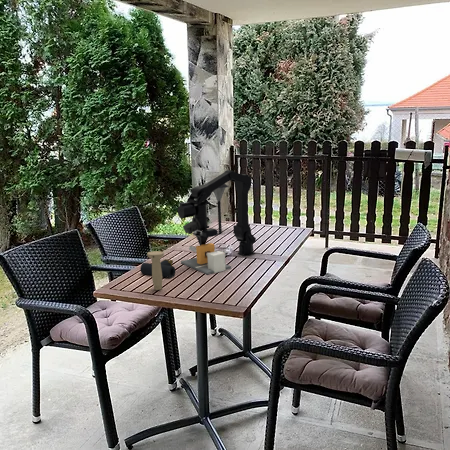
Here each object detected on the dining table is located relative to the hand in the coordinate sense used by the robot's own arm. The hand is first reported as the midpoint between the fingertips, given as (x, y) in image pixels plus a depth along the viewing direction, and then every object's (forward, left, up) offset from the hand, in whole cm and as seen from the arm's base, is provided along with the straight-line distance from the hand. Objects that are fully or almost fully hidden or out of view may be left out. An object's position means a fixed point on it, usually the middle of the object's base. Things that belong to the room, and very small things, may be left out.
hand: (202, 248), depth 205 cm
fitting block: (0, +11, -8) cm, 14 cm away
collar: (0, +3, -6) cm, 7 cm away
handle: (+31, +14, -8) cm, 35 cm away
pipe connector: (+20, -3, -8) cm, 22 cm away
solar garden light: (-41, -43, -8) cm, 60 cm away
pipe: (0, +1, -3) cm, 3 cm away
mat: (0, +2, -8) cm, 8 cm away
